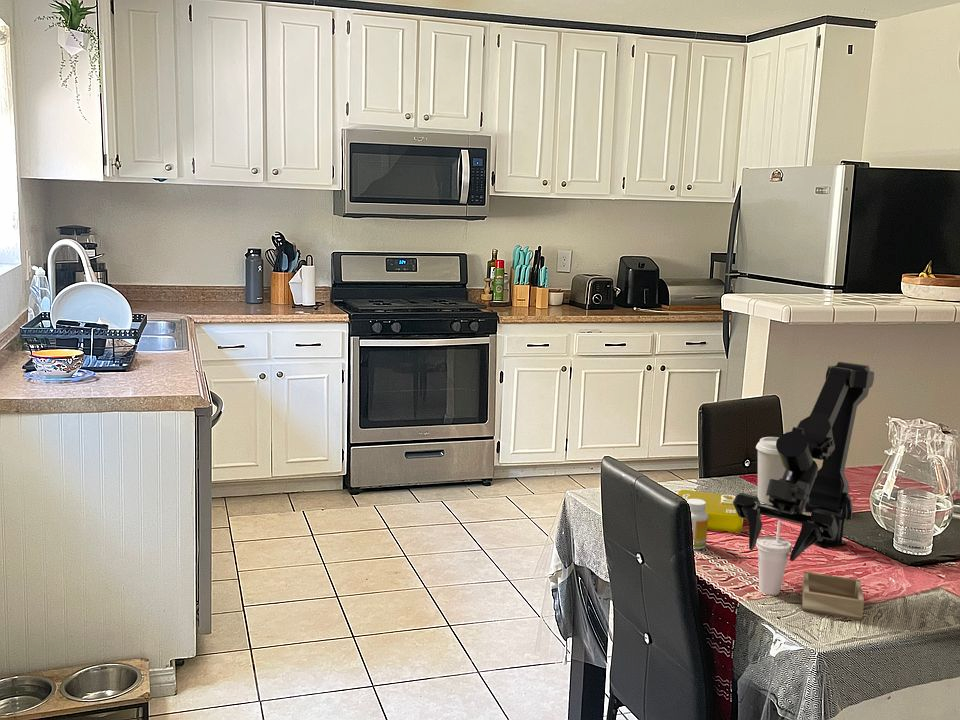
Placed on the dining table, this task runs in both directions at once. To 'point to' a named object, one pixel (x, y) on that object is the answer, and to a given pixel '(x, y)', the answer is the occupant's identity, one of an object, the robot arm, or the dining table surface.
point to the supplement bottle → (698, 522)
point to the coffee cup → (768, 466)
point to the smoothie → (772, 561)
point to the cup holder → (832, 595)
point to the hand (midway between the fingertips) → (770, 554)
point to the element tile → (717, 510)
